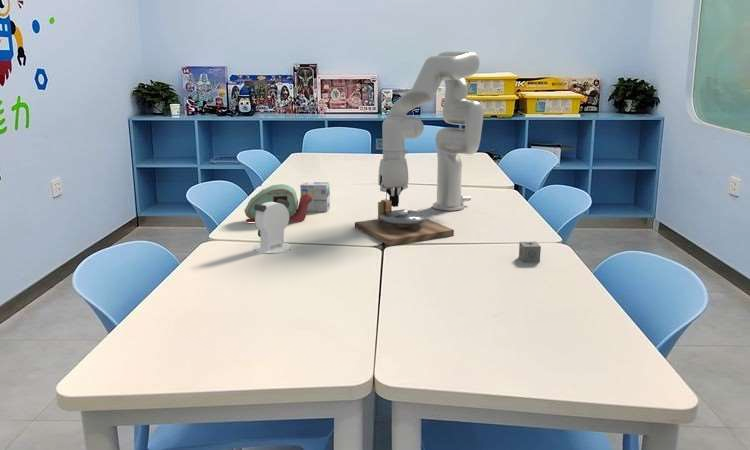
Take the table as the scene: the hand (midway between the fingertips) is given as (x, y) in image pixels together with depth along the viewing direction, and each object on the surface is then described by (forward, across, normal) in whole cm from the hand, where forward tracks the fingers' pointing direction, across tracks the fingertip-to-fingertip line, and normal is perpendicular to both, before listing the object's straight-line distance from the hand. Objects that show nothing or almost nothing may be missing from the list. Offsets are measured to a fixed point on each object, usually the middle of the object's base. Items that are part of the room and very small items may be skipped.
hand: (394, 205), depth 231 cm
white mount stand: (+6, +48, +7) cm, 48 cm away
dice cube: (+7, -17, +54) cm, 57 cm away
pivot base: (+7, +2, +9) cm, 12 cm away
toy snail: (+7, +35, -24) cm, 43 cm away
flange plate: (+2, +2, +8) cm, 8 cm away
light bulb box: (+7, +17, -34) cm, 39 cm away
